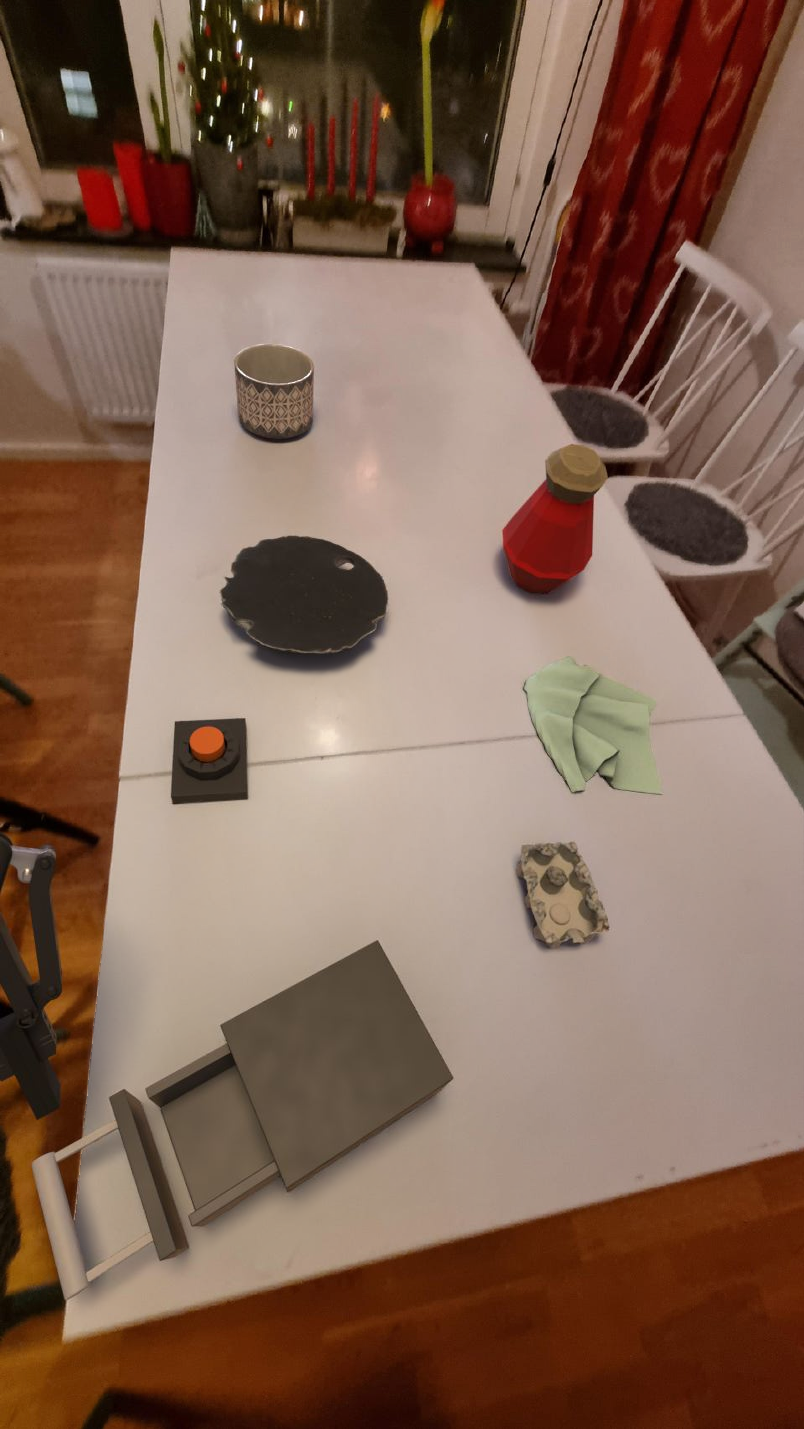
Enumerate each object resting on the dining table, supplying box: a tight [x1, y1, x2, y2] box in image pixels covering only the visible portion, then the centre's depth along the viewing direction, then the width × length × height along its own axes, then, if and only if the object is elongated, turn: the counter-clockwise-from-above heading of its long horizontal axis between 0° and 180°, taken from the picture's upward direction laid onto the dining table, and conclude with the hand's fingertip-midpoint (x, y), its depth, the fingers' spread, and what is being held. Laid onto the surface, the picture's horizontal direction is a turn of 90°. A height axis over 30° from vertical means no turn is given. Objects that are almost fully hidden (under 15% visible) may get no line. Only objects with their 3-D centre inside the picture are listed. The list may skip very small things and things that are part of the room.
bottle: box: [501, 443, 609, 596], centre depth 98 cm, size 16×14×20 cm
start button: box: [190, 727, 225, 762], centre depth 76 cm, size 4×4×2 cm
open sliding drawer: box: [31, 1043, 281, 1301], centre depth 54 cm, size 20×11×7 cm, turn 120°
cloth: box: [522, 655, 663, 796], centre depth 88 cm, size 20×22×2 cm
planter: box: [233, 343, 315, 440], centre depth 117 cm, size 13×13×10 cm
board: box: [219, 535, 389, 654], centre depth 93 cm, size 22×22×5 cm
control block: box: [170, 717, 249, 805], centre depth 78 cm, size 10×8×4 cm
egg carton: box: [515, 841, 610, 949], centre depth 73 cm, size 11×8×4 cm
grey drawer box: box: [220, 939, 454, 1193], centre depth 59 cm, size 15×13×9 cm
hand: (48, 1101), depth 47 cm, fingers closed
